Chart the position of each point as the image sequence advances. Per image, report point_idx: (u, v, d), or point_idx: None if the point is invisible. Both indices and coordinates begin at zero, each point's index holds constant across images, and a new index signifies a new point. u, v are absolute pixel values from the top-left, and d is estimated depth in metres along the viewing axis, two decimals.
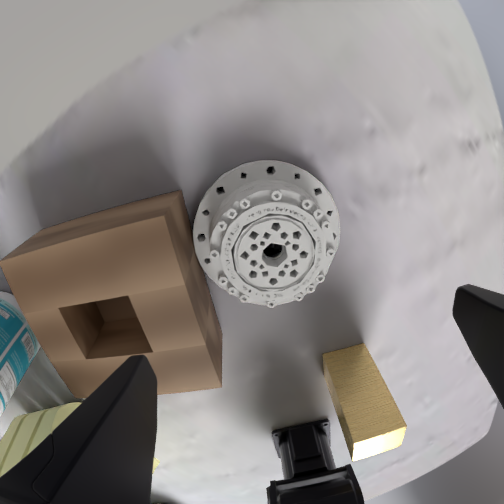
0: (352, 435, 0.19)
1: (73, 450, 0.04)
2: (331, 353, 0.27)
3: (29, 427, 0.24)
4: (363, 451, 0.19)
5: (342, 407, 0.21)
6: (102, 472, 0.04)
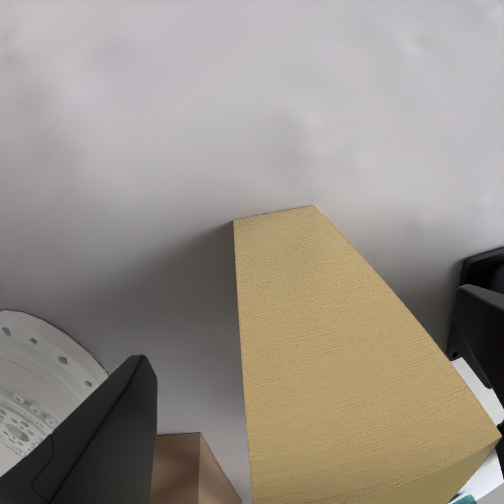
0: None
1: (73, 450, 0.04)
2: None
3: None
4: None
5: None
6: (102, 472, 0.04)
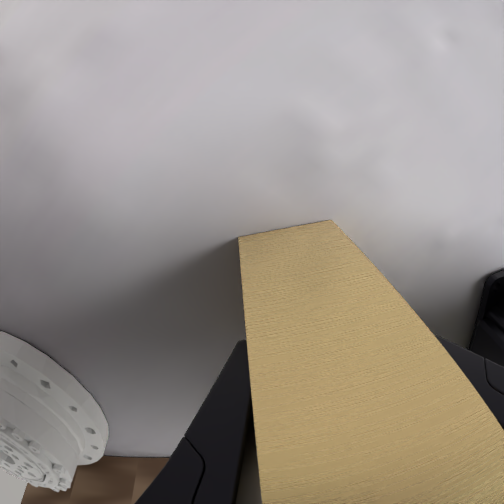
0: None
1: (231, 450, 0.04)
2: None
3: None
4: None
5: None
6: (254, 470, 0.04)
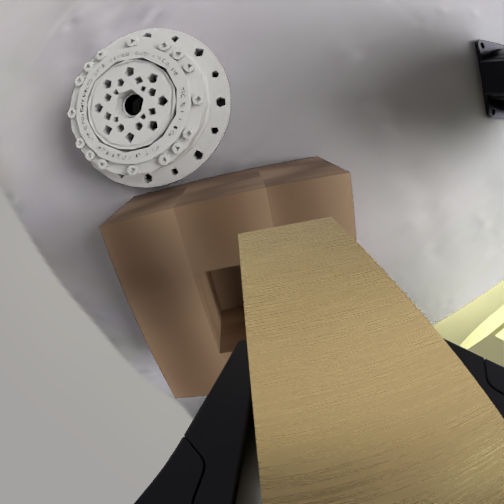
0: None
1: (231, 450, 0.04)
2: None
3: None
4: None
5: None
6: (254, 470, 0.04)
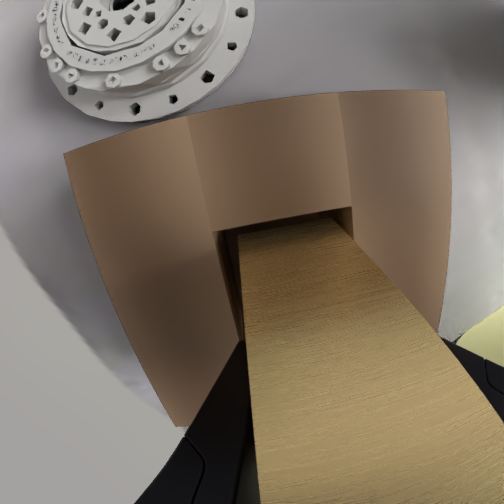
0: None
1: (231, 450, 0.04)
2: None
3: None
4: None
5: None
6: (254, 470, 0.04)
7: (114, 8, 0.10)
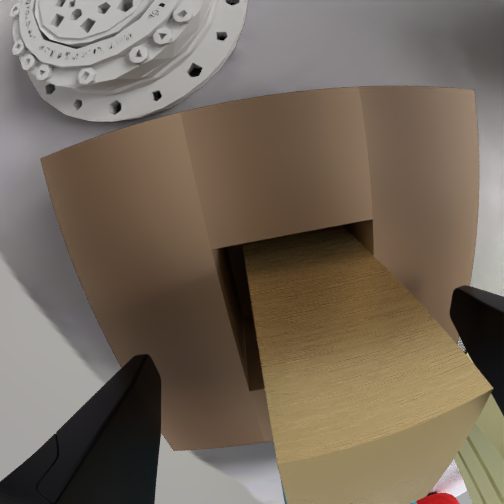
0: None
1: (78, 451, 0.04)
2: None
3: (465, 446, 0.17)
4: None
5: None
6: (107, 473, 0.04)
7: None
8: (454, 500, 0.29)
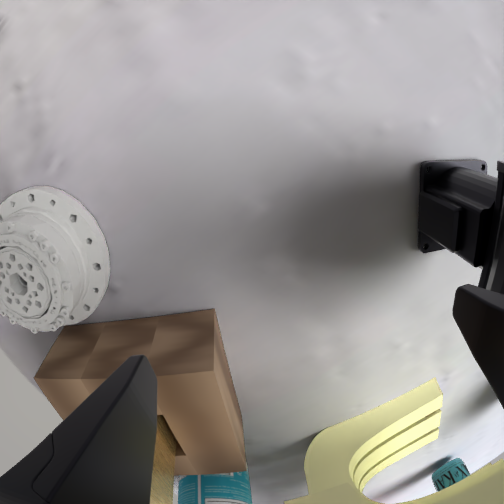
0: None
1: (73, 450, 0.04)
2: None
3: None
4: None
5: None
6: (102, 472, 0.04)
7: None
8: None
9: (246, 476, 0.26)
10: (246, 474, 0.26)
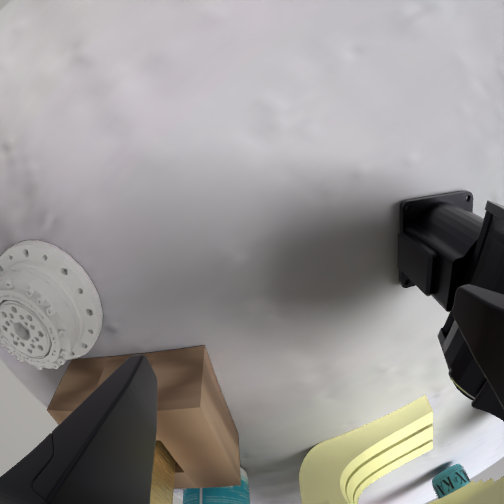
0: None
1: (73, 450, 0.04)
2: None
3: None
4: None
5: None
6: (102, 472, 0.04)
7: None
8: None
9: (245, 486, 0.28)
10: (245, 485, 0.28)
